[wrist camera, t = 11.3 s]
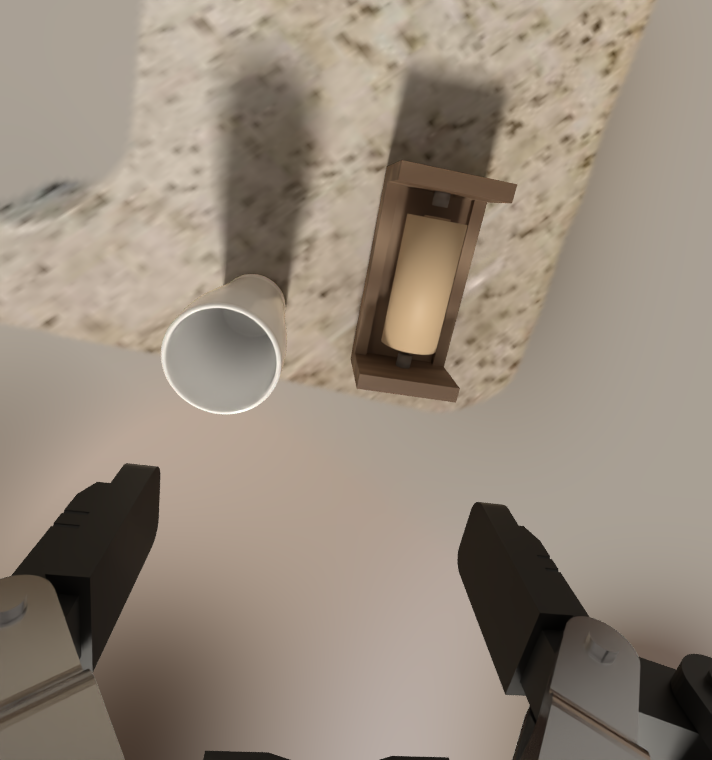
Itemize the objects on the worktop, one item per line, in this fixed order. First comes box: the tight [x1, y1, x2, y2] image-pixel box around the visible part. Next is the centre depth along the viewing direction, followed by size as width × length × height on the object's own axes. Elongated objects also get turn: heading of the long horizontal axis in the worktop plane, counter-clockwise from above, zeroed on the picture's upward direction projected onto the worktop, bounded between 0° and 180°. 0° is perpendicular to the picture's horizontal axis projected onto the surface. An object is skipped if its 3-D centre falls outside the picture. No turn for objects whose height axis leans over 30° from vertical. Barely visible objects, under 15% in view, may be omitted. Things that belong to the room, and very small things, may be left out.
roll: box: [381, 214, 468, 355], centre depth 37 cm, size 10×5×5 cm, turn 170°
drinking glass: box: [161, 274, 287, 414], centre depth 33 cm, size 7×7×15 cm
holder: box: [351, 160, 517, 402], centre depth 37 cm, size 16×8×7 cm, turn 170°
